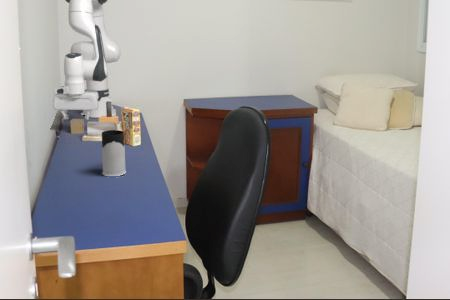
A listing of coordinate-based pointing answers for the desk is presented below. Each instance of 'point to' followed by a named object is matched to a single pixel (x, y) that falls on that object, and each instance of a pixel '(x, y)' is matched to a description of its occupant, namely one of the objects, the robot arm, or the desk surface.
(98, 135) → the press bed
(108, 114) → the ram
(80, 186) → the desk surface
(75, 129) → the housing
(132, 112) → the candy box
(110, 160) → the glass holder
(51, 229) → the desk surface
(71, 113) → the desk surface
